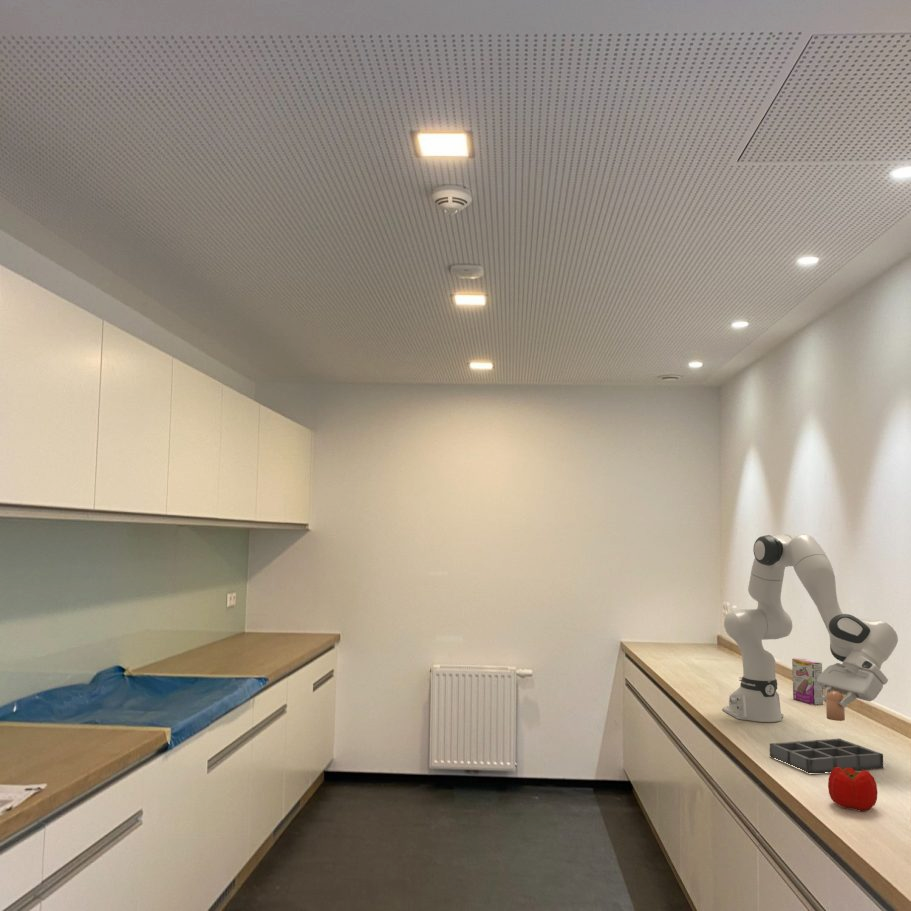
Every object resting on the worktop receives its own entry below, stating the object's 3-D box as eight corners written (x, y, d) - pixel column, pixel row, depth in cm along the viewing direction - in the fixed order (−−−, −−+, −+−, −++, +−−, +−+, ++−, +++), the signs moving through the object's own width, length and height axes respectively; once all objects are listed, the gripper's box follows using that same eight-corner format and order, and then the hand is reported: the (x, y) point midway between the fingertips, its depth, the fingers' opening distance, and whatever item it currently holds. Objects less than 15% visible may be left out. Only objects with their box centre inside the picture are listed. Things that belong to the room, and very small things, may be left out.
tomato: (882, 806, 197) (881, 768, 197) (869, 819, 188) (868, 779, 188) (837, 796, 204) (836, 759, 204) (822, 808, 195) (821, 770, 196)
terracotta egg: (823, 717, 232) (822, 689, 233) (836, 716, 233) (835, 688, 234) (834, 721, 227) (833, 692, 228) (848, 720, 229) (847, 692, 229)
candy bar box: (792, 699, 319) (791, 658, 320) (801, 698, 320) (800, 657, 322) (814, 705, 308) (813, 662, 310) (823, 704, 310) (822, 662, 312)
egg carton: (769, 757, 238) (769, 743, 238) (839, 751, 244) (839, 738, 244) (809, 774, 221) (809, 759, 221) (883, 768, 228) (882, 754, 228)
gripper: (827, 655, 244) (802, 689, 240) (879, 666, 224) (852, 703, 221) (840, 669, 244) (814, 703, 241) (893, 681, 225) (866, 718, 221)
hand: (833, 703), depth 231 cm, fingers closed on terracotta egg, 5 cm apart
